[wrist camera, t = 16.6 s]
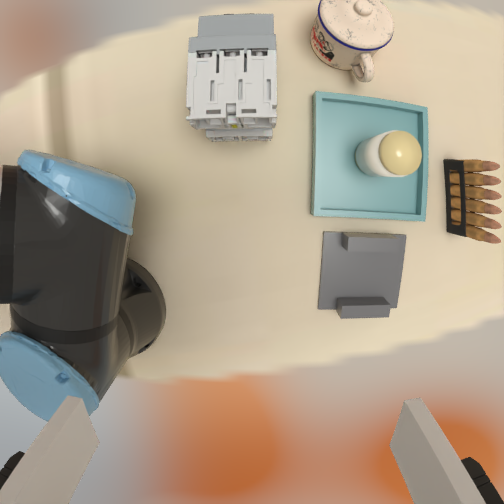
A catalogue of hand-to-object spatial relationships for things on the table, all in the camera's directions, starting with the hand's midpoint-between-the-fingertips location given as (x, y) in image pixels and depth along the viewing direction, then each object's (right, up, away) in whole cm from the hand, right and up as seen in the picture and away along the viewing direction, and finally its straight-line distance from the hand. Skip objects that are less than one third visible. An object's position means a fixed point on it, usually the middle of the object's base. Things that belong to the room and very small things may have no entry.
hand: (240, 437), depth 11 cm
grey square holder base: (+16, +4, +32) cm, 36 cm away
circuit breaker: (-1, +28, +27) cm, 39 cm away
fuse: (+16, +19, +28) cm, 37 cm away
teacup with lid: (+13, +34, +25) cm, 44 cm away
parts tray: (+16, +20, +28) cm, 38 cm away
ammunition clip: (+29, +15, +29) cm, 44 cm away
